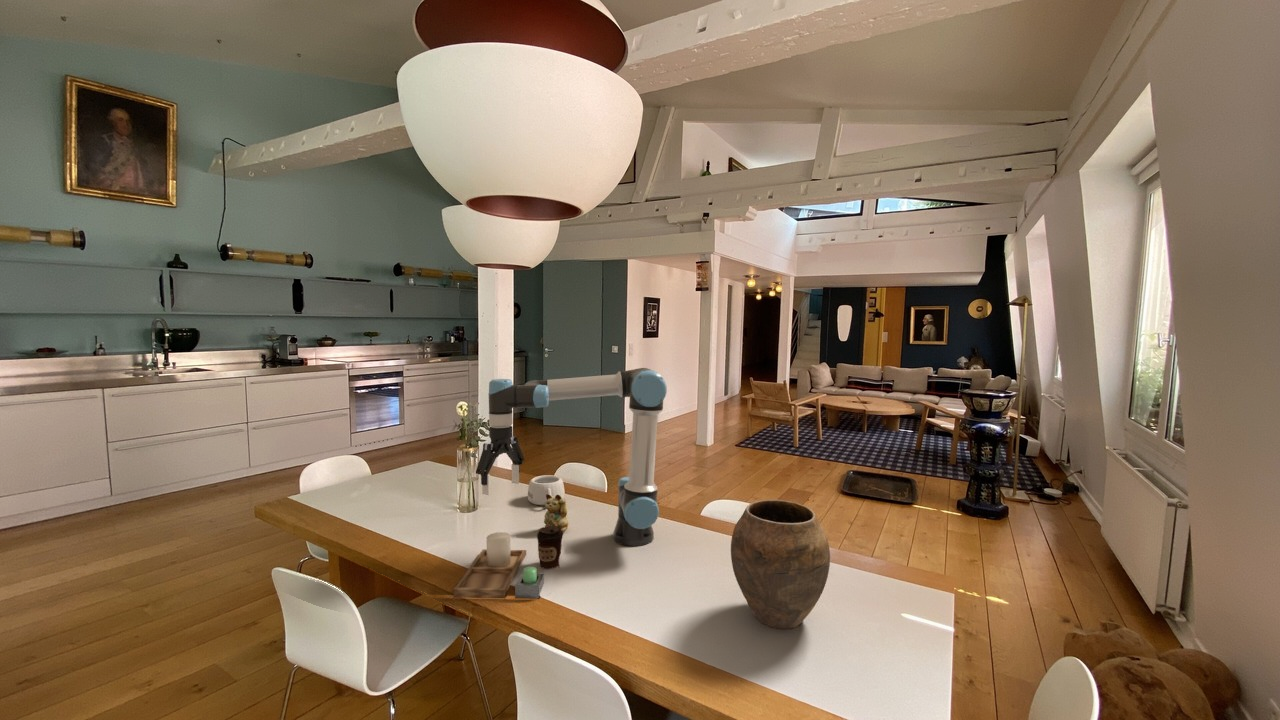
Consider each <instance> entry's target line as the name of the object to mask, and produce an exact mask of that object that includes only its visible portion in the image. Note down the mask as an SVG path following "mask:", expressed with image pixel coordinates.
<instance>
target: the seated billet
mask: <svg viewBox="0 0 1280 720" xmlns="http://www.w3.org/2000/svg"><path fill="white" fill-rule="evenodd" d="M486 550H487V566H488V567H503V568H504V567H506V566H508V565H509V564H510V563H511V550H512V549H511V534H510V533H509V532H505V531H504V532H503V531H498V532H493V533H490V534H488V535H487V536H486Z"/></svg>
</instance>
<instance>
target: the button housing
mask: <svg viewBox="0 0 1280 720" xmlns="http://www.w3.org/2000/svg"><path fill="white" fill-rule="evenodd" d="M544 584H545V574H544V573H537V582H536V583H523V573H521V574H520V575H519V576H518V578H517V580H516V583H515V585H514V589H515V590H514V594H515V595H514V598H515V599H521V600H522V599H525V600H528V599H529V600H534V599H535V600H540V598H541V595H540V594H541V592H542V589H543V587H544Z"/></svg>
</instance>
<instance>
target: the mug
mask: <svg viewBox="0 0 1280 720" xmlns="http://www.w3.org/2000/svg"><path fill="white" fill-rule="evenodd" d="M565 491H566V490H565V486H564V481H563V479H562V477H559V475H558V476H557V475H552V474H551V475H550V474H548V475H547V474H546V475H545V474H544V475H539V476H535V477H533V478H532V479H530V480H529V483H528V489H527V499H528V501H529V502H530V503H531V504H532V505H535V506H543V507H544V506H545V505H546V501H547V498H546V494H550V495H552V496H553V497H555V496H556V495H558V494H560V495H561V497H562V499H565V495H566V494H565ZM545 507H546V506H545Z"/></svg>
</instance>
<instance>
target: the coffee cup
mask: <svg viewBox="0 0 1280 720" xmlns="http://www.w3.org/2000/svg"><path fill="white" fill-rule="evenodd" d="M563 535H564V532H562V531H561V528H560V527H557V526H547V527H545V526H542V527H540V529H539V531H538V532H537V534H536V540H537V549H538V550H537V552H538V554H537V555H538V560H539V566H540V568H542V569H544V570H552V569H555V568H557V570H559V569H560V556H561V554H562V540H563Z"/></svg>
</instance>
